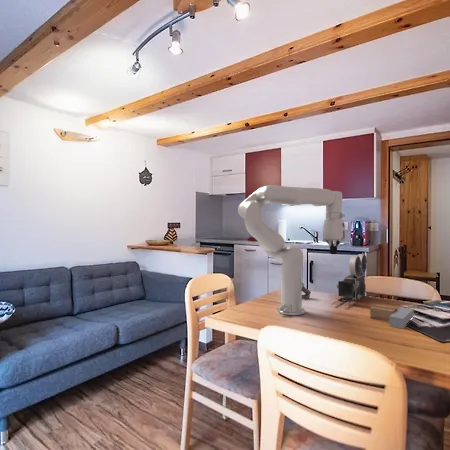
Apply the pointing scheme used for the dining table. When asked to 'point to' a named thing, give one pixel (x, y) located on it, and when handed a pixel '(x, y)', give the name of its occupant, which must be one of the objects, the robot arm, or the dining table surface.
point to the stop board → (401, 317)
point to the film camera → (353, 280)
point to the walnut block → (381, 312)
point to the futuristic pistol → (307, 292)
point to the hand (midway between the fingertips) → (333, 254)
